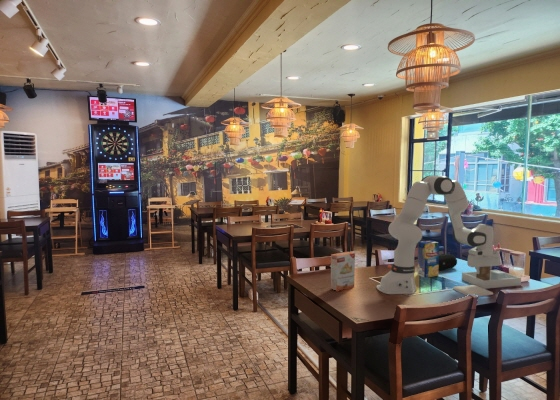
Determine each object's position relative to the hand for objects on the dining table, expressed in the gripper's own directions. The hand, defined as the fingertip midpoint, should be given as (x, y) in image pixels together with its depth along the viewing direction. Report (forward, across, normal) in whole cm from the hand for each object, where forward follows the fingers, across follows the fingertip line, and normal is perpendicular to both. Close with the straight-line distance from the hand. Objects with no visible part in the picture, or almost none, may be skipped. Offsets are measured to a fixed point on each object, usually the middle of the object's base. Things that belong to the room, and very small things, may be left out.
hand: (483, 273), depth 215 cm
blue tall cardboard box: (+7, +20, -24) cm, 32 cm away
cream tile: (+7, +16, +11) cm, 21 cm away
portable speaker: (+7, +6, -34) cm, 35 cm away
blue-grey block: (+6, -10, 0) cm, 12 cm away
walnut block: (+4, 0, 0) cm, 4 cm away
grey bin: (+6, -6, 0) cm, 8 cm away
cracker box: (+8, +84, -13) cm, 86 cm away
